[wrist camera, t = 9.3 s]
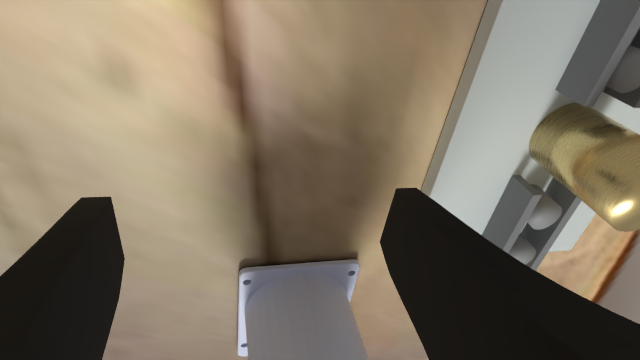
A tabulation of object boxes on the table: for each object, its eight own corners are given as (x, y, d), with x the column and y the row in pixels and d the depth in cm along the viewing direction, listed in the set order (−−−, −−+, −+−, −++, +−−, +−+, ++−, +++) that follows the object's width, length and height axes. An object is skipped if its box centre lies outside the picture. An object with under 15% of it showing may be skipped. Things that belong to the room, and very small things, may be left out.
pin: (574, 162, 24) (660, 228, 19) (518, 165, 23) (594, 234, 18) (607, 102, 22) (715, 160, 17) (546, 102, 21) (642, 163, 16)
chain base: (561, 240, 31) (590, 269, 28) (399, 253, 27) (416, 287, 25) (755, -49, 19) (830, -41, 17) (521, -94, 16) (575, -91, 13)
